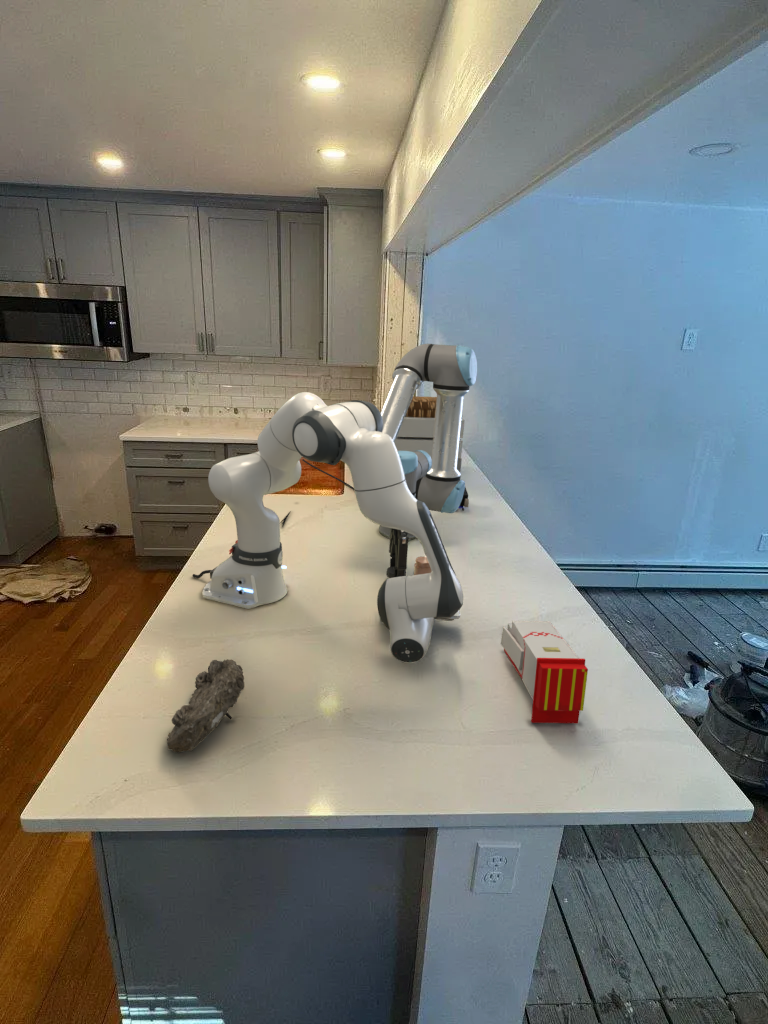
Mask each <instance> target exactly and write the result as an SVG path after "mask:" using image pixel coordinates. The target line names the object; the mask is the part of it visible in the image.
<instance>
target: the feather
mask: <svg viewBox="0 0 768 1024" xmlns="http://www.w3.org/2000/svg"><path fill="white" fill-rule="evenodd" d="M291 511H292V510H290V511H289V512H288V513H287V514H286V515H285V516H284V518H283V519H282V520H281V521H280V524H282V528H283V527H284V526H285V524H286V521H287V519H288V517H289V515H290V514H291Z"/></svg>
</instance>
